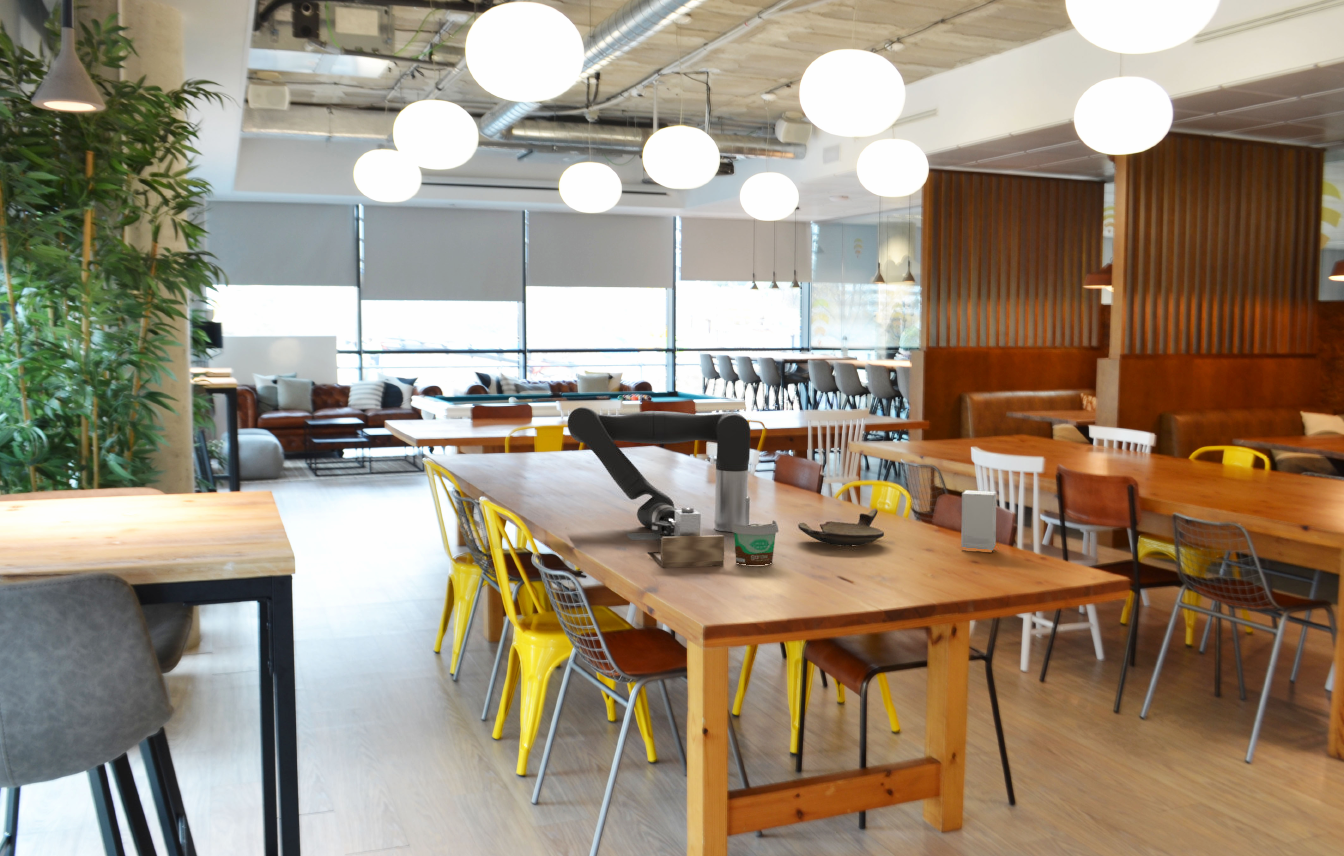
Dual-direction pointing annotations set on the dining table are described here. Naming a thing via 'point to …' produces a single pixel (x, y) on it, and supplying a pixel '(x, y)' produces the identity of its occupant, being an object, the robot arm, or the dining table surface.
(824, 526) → the oil lamp
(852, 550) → the dining table surface
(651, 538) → the stand
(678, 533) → the block
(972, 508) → the skincare box
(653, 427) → the robot arm
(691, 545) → the dock
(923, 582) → the dining table surface
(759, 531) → the food container
